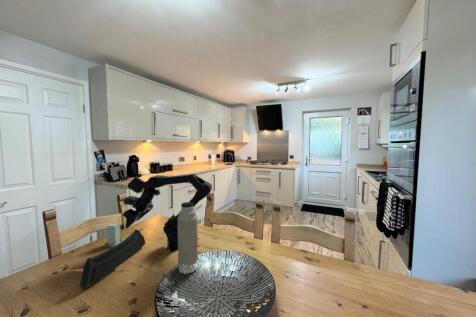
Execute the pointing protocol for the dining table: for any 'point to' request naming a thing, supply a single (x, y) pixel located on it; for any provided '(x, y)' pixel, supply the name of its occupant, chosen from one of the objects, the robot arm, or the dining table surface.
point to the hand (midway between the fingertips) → (131, 223)
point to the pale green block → (113, 234)
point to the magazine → (111, 259)
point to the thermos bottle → (187, 235)
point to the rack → (109, 245)
